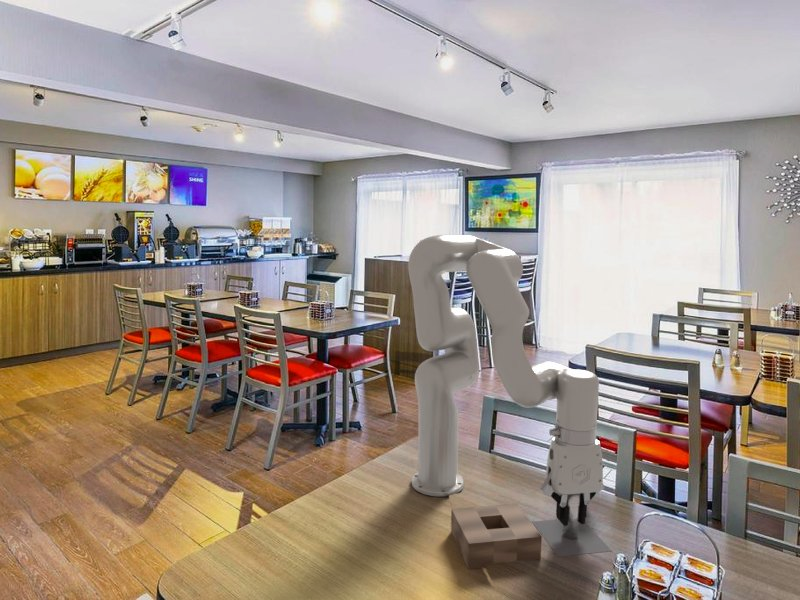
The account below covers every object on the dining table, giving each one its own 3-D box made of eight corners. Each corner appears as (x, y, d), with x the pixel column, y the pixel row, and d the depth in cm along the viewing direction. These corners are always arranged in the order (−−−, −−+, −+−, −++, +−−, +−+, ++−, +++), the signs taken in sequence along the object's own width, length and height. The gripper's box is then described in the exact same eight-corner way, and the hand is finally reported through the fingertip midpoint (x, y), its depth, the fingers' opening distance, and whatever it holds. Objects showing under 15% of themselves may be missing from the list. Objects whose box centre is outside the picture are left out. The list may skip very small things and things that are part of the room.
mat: (531, 524, 110) (531, 521, 110) (580, 519, 112) (580, 517, 112) (558, 559, 98) (558, 556, 98) (611, 553, 100) (612, 550, 100)
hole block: (451, 531, 107) (451, 508, 107) (515, 525, 110) (516, 503, 109) (468, 569, 96) (469, 543, 95) (540, 561, 98) (541, 536, 97)
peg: (559, 531, 106) (561, 485, 105) (573, 530, 107) (575, 484, 106) (566, 540, 103) (569, 492, 102) (580, 539, 104) (583, 491, 103)
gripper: (544, 443, 97) (540, 536, 100) (625, 438, 100) (619, 528, 102) (528, 428, 105) (524, 514, 107) (603, 424, 107) (598, 508, 110)
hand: (570, 520), depth 105 cm, fingers closed on peg, 3 cm apart
